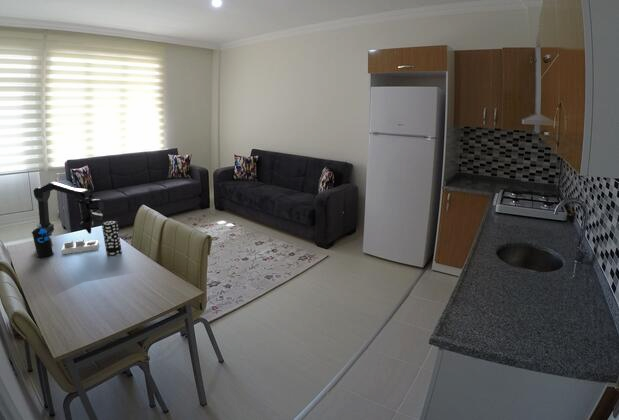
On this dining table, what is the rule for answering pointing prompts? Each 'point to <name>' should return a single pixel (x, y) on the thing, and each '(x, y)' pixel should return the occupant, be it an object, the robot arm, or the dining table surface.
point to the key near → (68, 244)
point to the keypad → (80, 248)
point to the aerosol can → (42, 242)
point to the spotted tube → (111, 238)
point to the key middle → (80, 242)
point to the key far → (91, 242)
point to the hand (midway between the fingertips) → (90, 233)
